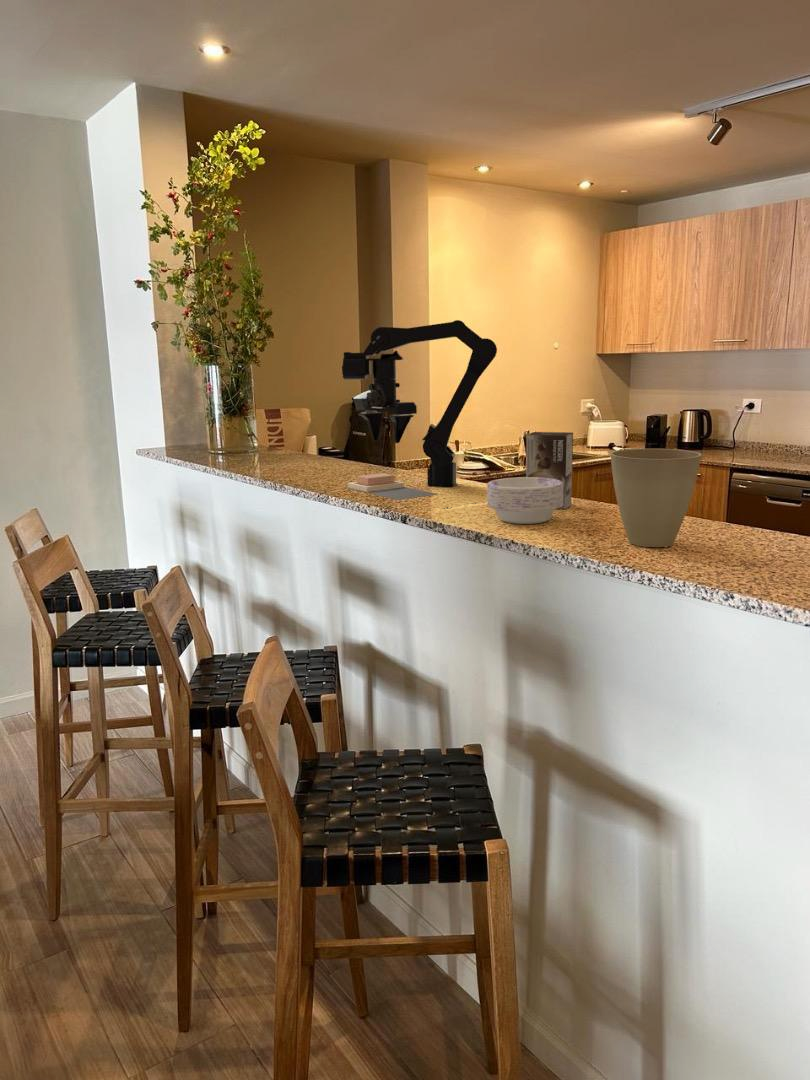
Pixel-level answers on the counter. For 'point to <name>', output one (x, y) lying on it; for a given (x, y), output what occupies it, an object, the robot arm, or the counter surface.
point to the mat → (390, 490)
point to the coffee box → (551, 459)
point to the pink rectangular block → (375, 479)
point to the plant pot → (653, 492)
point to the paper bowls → (525, 498)
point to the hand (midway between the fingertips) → (386, 441)
